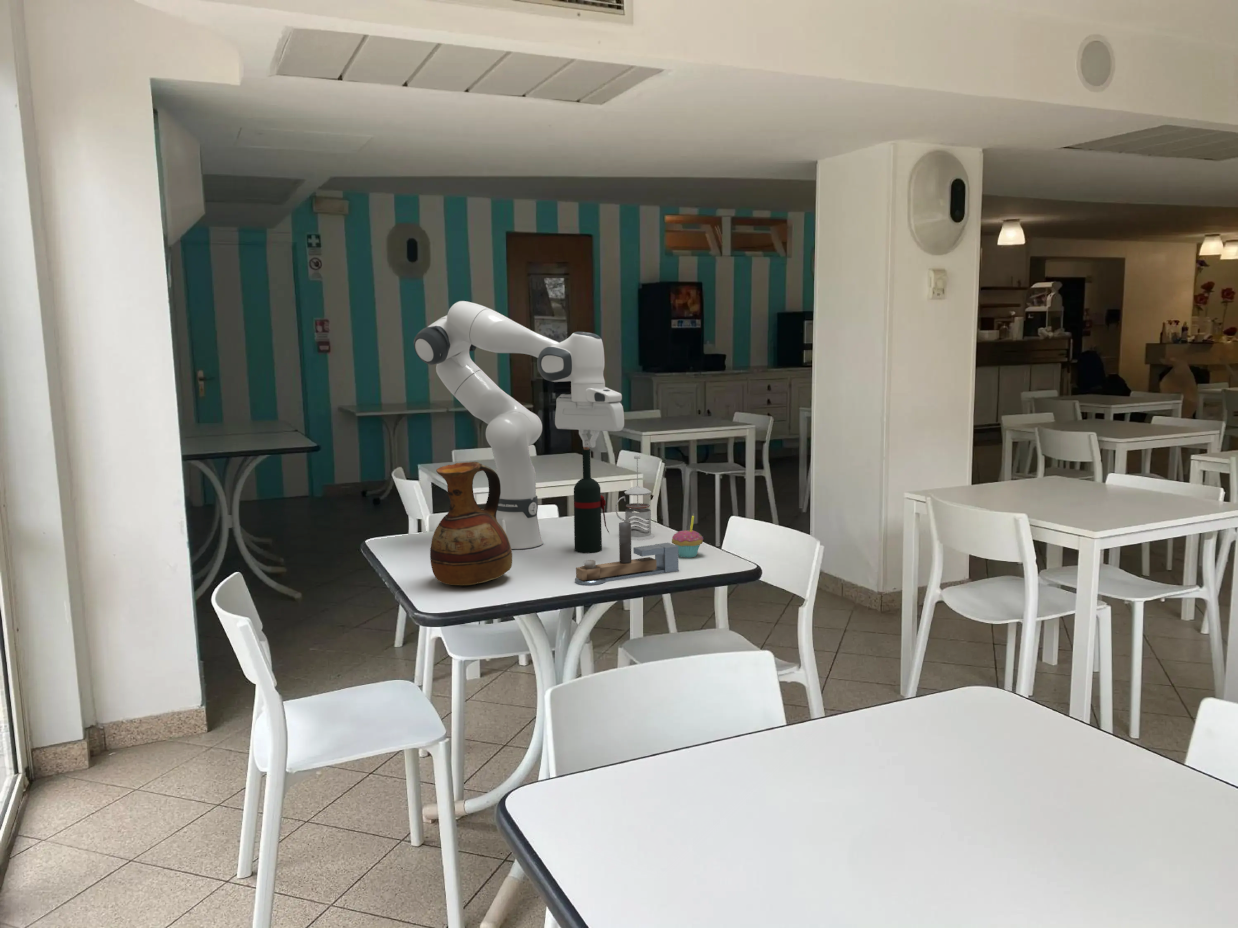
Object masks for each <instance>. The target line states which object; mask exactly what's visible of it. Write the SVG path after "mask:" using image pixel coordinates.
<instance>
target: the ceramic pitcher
mask: <svg viewBox="0 0 1238 928" xmlns="http://www.w3.org/2000/svg"><path fill="white" fill-rule="evenodd" d="M435 472H436V473H437V474H438V475H439V476H440V477H442V478H443V480H444V481H445V483H446V486H447V488H446V489H447V496H448V498H449V501H450V502H449V509H448V512H447V513H446V514H445V515H444V516H443V517H442V518H441V520H440V521H439V523H438V524H437V526H436V528H435V530H434V532H433V535H432V538H431V542H430V543H431V544H430V549H429V550H430V551H429V557H430V558H429V559H430V566H431V570H432V573H433V575H434V577H435V579H436V580H437V581H438V582H440V583H443V584H445V585H451V586H472V585H476V584H477V585H478V584H482V583H486V582H489V581H491V580H496V579H499V578H500V577H502V576H503V575H505V574H506V573H507V572H509V571H510V570H511V568H512V566H513V552H512V550H513V549H511V546H510V543H509V540H508V537H507V535H506V533H505V531H504V530H503V528H502V527H501V526H500V524H499V523H498V522H497V519H496V513H497V508H498V504H499V498H500V494H501V486H500V480H499V477H498V475H497V471H495V470H494V469H492V468H491V467H489V466H487V465H484V464H482V463H480V462H478V461H469V462H468V461H467V462H456V463H453V464H446V465H444V466H443V465H442V466H440V467H439V468H436V471H435ZM479 472H484V474H485V475H486V478H487V482H488V494H487V499H486V502H485V505H484V507H483V508H481V507H480V506H479V505H478V503H477V501H476V499H475V495H474V488H473V487H474V486H473V485H474V479H475V476H476V474H477V473H479Z"/></svg>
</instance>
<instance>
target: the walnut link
mask: <svg viewBox="0 0 1238 928" xmlns="http://www.w3.org/2000/svg"><path fill="white" fill-rule="evenodd" d="M631 523H632V522H631V521H630V522H624V521H622V522H621V521H620V522H618V543H619V544H618V547H619V548H618V549H619V550H618V551H619V553H618V554H619V561H613V562H607V563H599V564H597V563H596V560H595V559H586V560H584V561H583V563H584V564H583V565H582V566H578V567H575V578H578V579H580V580H582V581H583V580H595V579H599V578H603V577H610V576H616V575H623V574H629V573H636V572H643V571H649V570H656V569H657V566H656V559H655V558H652V557H650V556H645V557H640V558H633V559H632V540H631V527H632V525H631Z"/></svg>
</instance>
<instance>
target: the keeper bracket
mask: <svg viewBox="0 0 1238 928" xmlns="http://www.w3.org/2000/svg"><path fill="white" fill-rule="evenodd" d="M633 554H634V555H636V556H639V557H641V558H644V557H650V556H654V559H656V566H657V569H656V570H649V571H643V572H636V573H629V574H623V575H616V576H610V577H603V578H599V579H595V580H583V581H582V580H580V579H578V578H576V577H575V578H574V583H575V584H576V585H580V586H597V585H602V584H605V583H606V582H612V581H619V580H624V579H631V578H633V579H634V578H639V577H645V576H652V575H659V574H664V573H665V574H667V572H668V573H674V572H675V573H676V572H679V553H678V546H677V545H675V544H673V543H672V542H662V543H655V544H649V545H641V546H634V547H633Z"/></svg>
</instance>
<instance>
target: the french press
mask: <svg viewBox="0 0 1238 928" xmlns="http://www.w3.org/2000/svg"><path fill="white" fill-rule="evenodd" d="M633 459H634V460H636V486H633V487H629V488H628V489H626V490H625V491H624V492H623V493H624V494H625V495H627V496H637V500H636V501H637V502H633V503H627V504H626V505H625V507H626V508H627V509H624V510H625V513H624V514H625V515H624V516H625V519H624V518H622V517H621V516H620V515H619V514H618V510H617V508H618V507H617V506H618V503H619V502H620V501H621V500H622V499H624V501H626V496H625V495H624V496H622V497H620V498H619V499H618V500H617V501H616V504H615V514H616V516H617V518H618V519H619V520H620V521H622V522H630V523H631V541H646V540H647V539H648V540H652V539H654V538H655V536H654V534H653V533H652V516H651V515H652V513H651V512H652V511H651V508H649V507H650V504H649V503H641V502H639V496H649V495H650V494H652V491H651V490H650V489H648V488H646V487H642V486H639V483H638V482H639V481H638V480H639V478H638V477H639V476H638V475H639V474H638V471H639V470H638V469H639V467H638V466H639V465H638V463H639V462H638V461H639V459H641V456H640V455H639V454H635V455H634V456H633ZM631 517H632V518H631ZM642 519H643V520H642ZM632 525H633V526H632Z"/></svg>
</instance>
